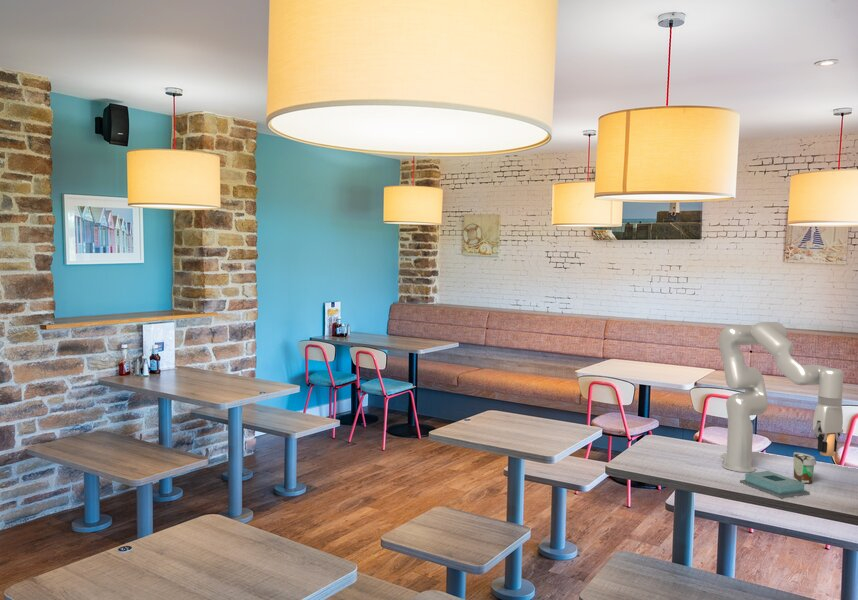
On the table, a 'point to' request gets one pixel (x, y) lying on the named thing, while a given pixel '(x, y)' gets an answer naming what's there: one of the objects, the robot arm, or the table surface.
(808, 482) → the food container
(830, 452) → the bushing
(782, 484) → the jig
